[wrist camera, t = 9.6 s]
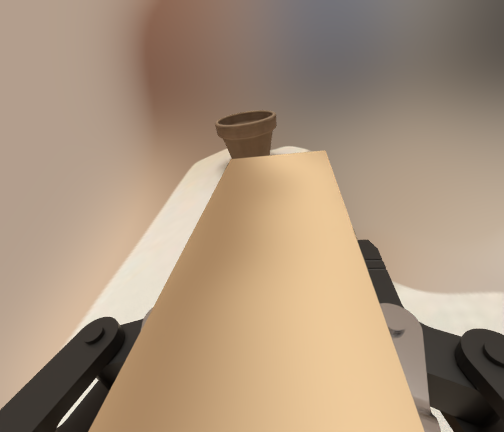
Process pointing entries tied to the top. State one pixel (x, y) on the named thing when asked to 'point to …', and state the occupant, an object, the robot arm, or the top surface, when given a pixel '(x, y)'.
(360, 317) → the brown rectangular block
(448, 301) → the top surface
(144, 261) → the top surface
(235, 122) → the flower pot
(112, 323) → the robot arm
